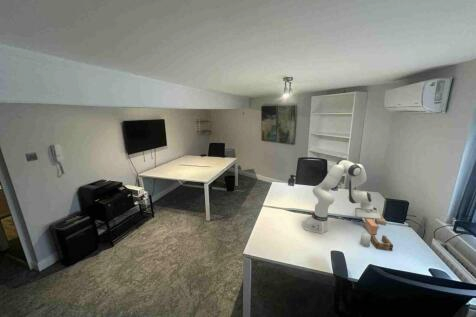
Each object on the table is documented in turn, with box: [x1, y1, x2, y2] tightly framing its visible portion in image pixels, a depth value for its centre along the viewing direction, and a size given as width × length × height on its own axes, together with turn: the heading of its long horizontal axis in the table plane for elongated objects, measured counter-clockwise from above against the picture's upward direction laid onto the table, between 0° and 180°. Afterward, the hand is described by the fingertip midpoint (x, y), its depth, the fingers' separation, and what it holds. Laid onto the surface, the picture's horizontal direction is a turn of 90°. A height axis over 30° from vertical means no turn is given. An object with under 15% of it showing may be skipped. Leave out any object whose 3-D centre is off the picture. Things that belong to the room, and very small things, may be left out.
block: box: [364, 218, 379, 235], centre depth 169 cm, size 5×12×8 cm, turn 167°
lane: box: [369, 233, 394, 252], centre depth 151 cm, size 11×12×5 cm
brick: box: [374, 212, 387, 226], centre depth 186 cm, size 17×8×5 cm, turn 160°
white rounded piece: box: [359, 231, 371, 248], centre depth 152 cm, size 6×6×9 cm
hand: (369, 223), depth 172 cm, fingers closed on block, 5 cm apart
